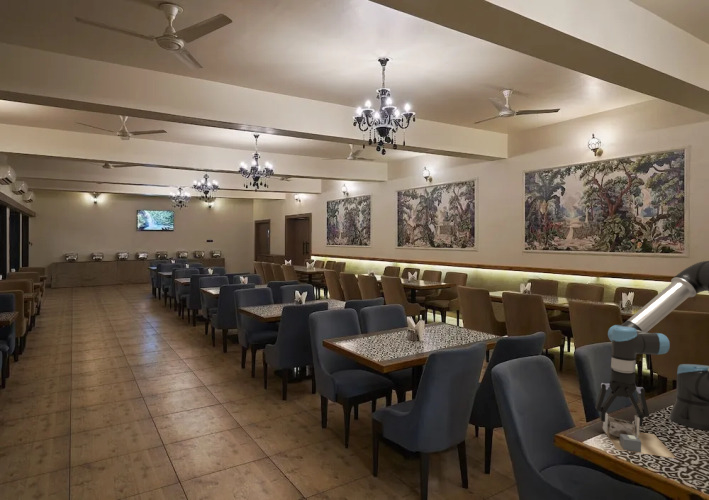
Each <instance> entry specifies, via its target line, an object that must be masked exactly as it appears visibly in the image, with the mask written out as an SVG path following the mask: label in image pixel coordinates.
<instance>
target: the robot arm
mask: <svg viewBox="0 0 709 500" xmlns="http://www.w3.org/2000/svg"><path fill="white" fill-rule="evenodd" d="M701 292H709V260H703V261H699V262H696V263H694V264H692V265H690V266H688V267H686V268H685V269H683V270H681V271H680V272H679V273H677V274H676V275H675V276H673V278H671V281H670V283H669V285H668V286H666V287H664V289H662V290H661V291H660V292H659V293H658V294H657V295H655V296H654V297H653V298H652V299H651V300H650V301H649V302H648V303H646V304H645V305H643V306H642V308H640V309H639V310H638V311H636V313H635V314H633V315H632V316H631V317H629V318H628V319H627V320H626V321H625V322H624V323H622V324H614V325H612V326H611V327H609V328H608V331H607V337H608V339H609V341H610V342H611V360H610V362H611V363H610V368H611V369H610V380H609V382H608V383H604V382H601V383H600V390H599V393H598V397H597V400H596V403H595V405H594V407H595V408H594V409H596V411H598V412H600V419H599V420H600V421H601V422H603V424H602V427H603V428H602V430H603V432H604V433H605V432H607V426H608V416H609V413H607V411H608V409H610V407H611V405H612V403H613V402H614V401H615V399H617V397H619V398H621V397H623V398H628V400H629V401H630V403H631V405H632V407H633V408H634V410H635V412H636V414H637V415H636V414H635V415H634V426H635V432H636V436H639V432H640V427H643V424H644V421H643V420H644V418H648V417H650V413H649V409H648V404H647V400H646V396H645V394H646V389H645V388H644V386H636V373H635V371H636V367H637V366H636V364H637V363H636V360H637V355H656V356H657V355H665V354H667V353H668V352H669V351H670V344H671V342H670V339H669V338H668V337H667V335H666V334H663V333H661V332H660V333H659V332H649V331H650V330H651V329H652V328H654V327H655V326H656V325H657V324H659V323H660V322H661V321H662V320H664V319H665V318H666V317H667V316H668V315H669V314H670V313H672V312H673V311H674V310H675V309H676V308H678V307H679V306H680V305H681V304H682V303H683V302H685V301H686V300H687V299H688V298H693V297H695V296H696V295H698V294H700V293H701ZM609 388H610V390H611V391H610V392H609V395H608V396H607V398H606V399H605V396H606V393H607V390H609ZM635 392H637V393H638V398H639V402H640V405H641V409H640V407H639V405H638V403H637V401H636V399H635V397H634V396H633V394H634V393H635ZM675 396H676V397H675V402H674V404H673V406H672V409H671V411H670V415H669V416H670V420H671V421H673V422H675V423H677V424H679V425H682V426H685V427H688V428H692V429H698V430H702V431H703V430H706V431H709V365H705V364H692V363H682V364H679V365H678V366H677V372H676V395H675ZM604 400H605V401H604ZM641 410H642V411H641Z"/></svg>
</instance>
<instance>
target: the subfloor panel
mask: <svg viewBox="0 0 709 500" xmlns="http://www.w3.org/2000/svg"><path fill="white" fill-rule="evenodd" d="M601 429H603V426H602V427H601ZM604 433H605V435H606V436H607V438H608V439H609V440H610V441H611V443H612V445H613V446H614V448H615V449H616V451H624V452H630V453H636V454H637V453H638V454H645V455H652V456H657V457H663V458H664V457H665V458H670V459H671V458H673V459H677V457H676V455H674V454H673V453H672V452H671V450H669V449H668V447H667V446H666V445H665V444H664V443H663V442H662V440H660V439H659V438H658V437H657V435H655V434H654V433H649V432H648V433H647V432H640V431H639V436H637V437H638V438H639V440H640V441H641V452H634V451H627V450H623V448H622V447H621V445H620V444H619V441H620V437H617V436H614V435H612V434H610V433H609V429H608V428H607V432H605V431H604Z"/></svg>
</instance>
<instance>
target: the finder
mask: <svg viewBox="0 0 709 500" xmlns="http://www.w3.org/2000/svg"><path fill="white" fill-rule="evenodd" d="M619 444H620V445H621V447H622V448H623V450H627V451H626V452H629V451H634V452H633V453H636V452H641V441H640V440H639V438H638V437H637V436H633V435H626V434H620V441H619Z"/></svg>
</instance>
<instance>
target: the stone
mask: <svg viewBox="0 0 709 500" xmlns="http://www.w3.org/2000/svg"><path fill="white" fill-rule="evenodd" d="M634 425H635V423H632V422H631V421H629V420H624V419H618V418H616V417H612V416H610V415H608V426H607V428H608V429H609V433H610V434H612V435H614V436H617V437H620V434H626V435H633V436H636V432H635V426H634Z"/></svg>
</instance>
